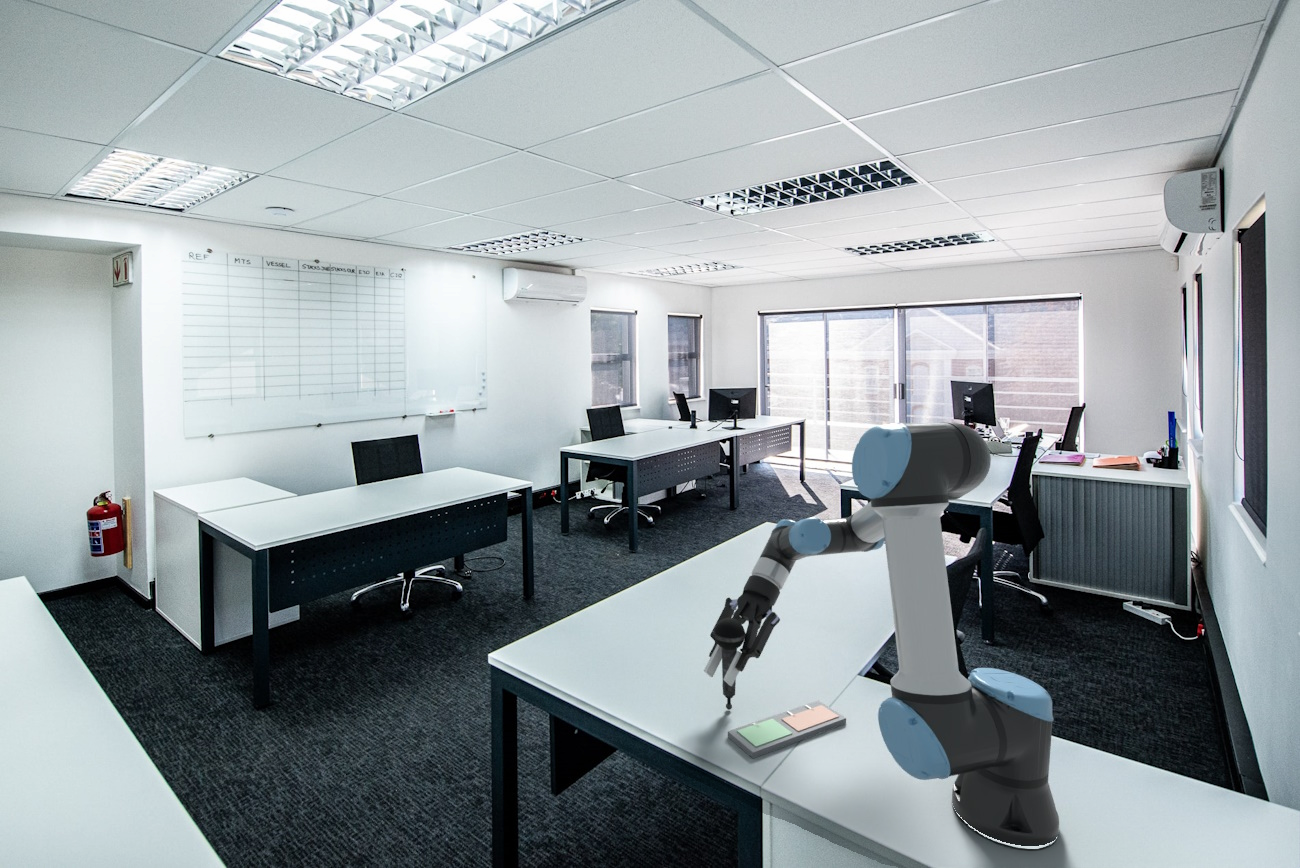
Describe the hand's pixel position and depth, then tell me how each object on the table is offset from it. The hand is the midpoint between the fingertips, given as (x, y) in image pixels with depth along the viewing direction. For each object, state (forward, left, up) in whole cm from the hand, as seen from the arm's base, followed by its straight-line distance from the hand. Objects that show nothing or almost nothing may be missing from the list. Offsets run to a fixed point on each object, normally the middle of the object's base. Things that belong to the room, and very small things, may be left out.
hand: (717, 678), depth 131 cm
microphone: (+1, -4, -8) cm, 9 cm away
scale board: (-11, -10, -8) cm, 17 cm away
